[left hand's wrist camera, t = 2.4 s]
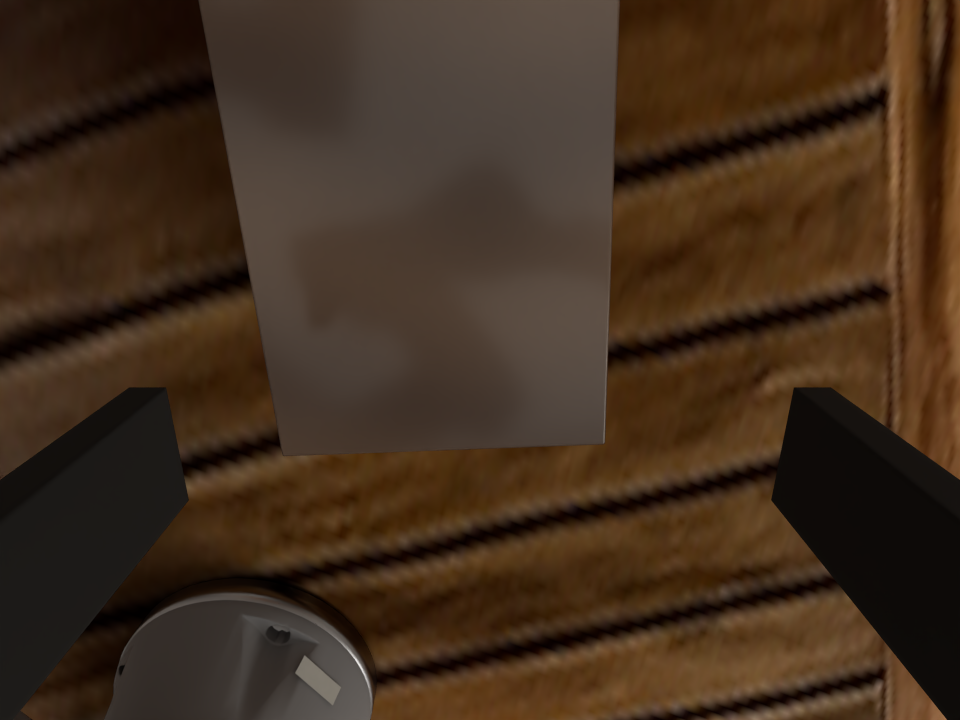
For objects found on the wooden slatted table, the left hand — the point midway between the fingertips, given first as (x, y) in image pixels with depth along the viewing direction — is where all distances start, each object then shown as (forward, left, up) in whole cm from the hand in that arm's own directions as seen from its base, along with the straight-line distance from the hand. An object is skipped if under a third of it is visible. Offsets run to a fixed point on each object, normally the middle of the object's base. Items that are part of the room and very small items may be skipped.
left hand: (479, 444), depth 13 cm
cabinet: (+1, +7, -17) cm, 18 cm away
